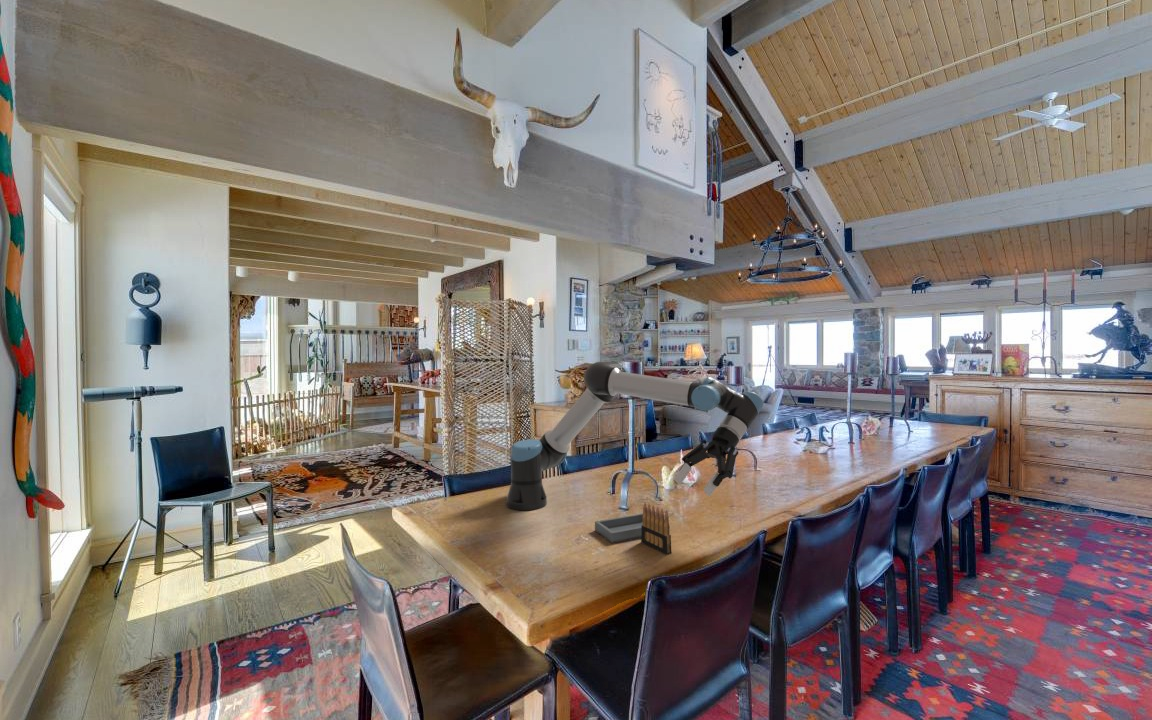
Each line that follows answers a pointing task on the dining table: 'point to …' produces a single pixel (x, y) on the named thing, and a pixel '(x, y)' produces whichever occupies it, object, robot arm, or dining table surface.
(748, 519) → the dining table surface
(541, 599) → the dining table surface
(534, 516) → the dining table surface
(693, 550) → the dining table surface
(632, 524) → the tray
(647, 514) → the ammunition clip
